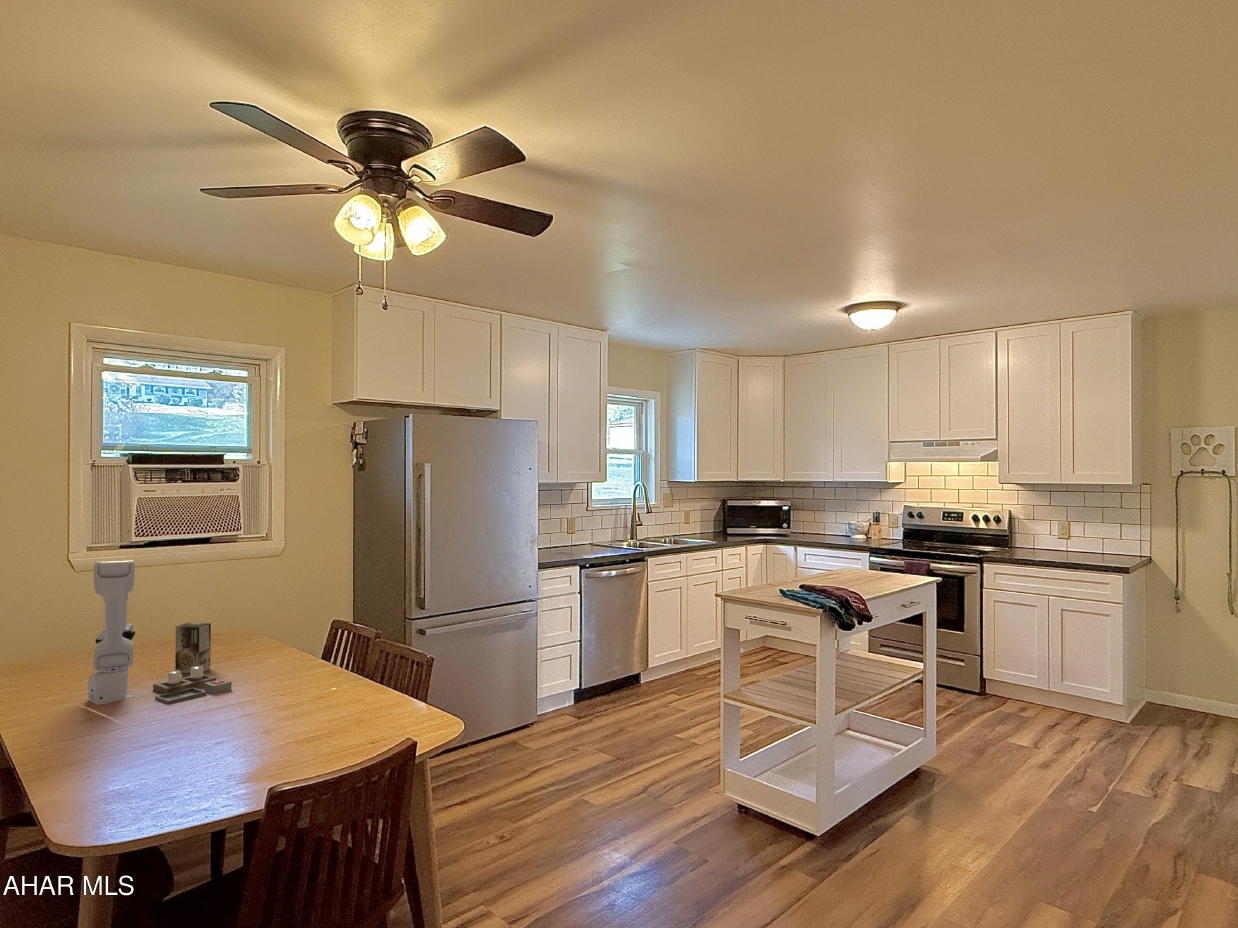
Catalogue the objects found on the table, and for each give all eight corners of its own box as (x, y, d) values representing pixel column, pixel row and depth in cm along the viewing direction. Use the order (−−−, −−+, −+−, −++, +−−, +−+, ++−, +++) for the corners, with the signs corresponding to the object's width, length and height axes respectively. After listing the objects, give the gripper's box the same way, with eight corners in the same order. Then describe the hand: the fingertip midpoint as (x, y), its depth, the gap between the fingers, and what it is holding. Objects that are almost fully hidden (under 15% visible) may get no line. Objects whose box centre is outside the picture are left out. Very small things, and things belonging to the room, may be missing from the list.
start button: (215, 691, 227) (216, 683, 227) (211, 689, 229) (212, 682, 229) (223, 689, 229) (223, 681, 229) (219, 687, 231) (219, 680, 231)
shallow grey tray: (168, 705, 215) (168, 700, 215) (155, 700, 220) (155, 695, 220) (206, 696, 224) (206, 691, 224) (193, 692, 229) (193, 687, 229)
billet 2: (193, 688, 233) (194, 669, 233) (188, 686, 235) (188, 667, 235) (205, 685, 236) (205, 667, 236) (199, 683, 238) (199, 665, 238)
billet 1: (169, 693, 227) (170, 674, 227) (165, 691, 229) (166, 672, 229) (182, 691, 229) (183, 672, 229) (178, 689, 232) (178, 670, 232)
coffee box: (211, 668, 256) (212, 622, 257) (198, 673, 250) (199, 626, 250) (186, 668, 257) (187, 622, 258) (174, 672, 251) (174, 625, 251)
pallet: (166, 696, 224) (167, 688, 224) (153, 691, 229) (153, 683, 229) (216, 685, 236) (216, 677, 236) (202, 680, 241) (202, 673, 241)
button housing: (213, 695, 225) (213, 685, 225) (203, 692, 228) (204, 682, 228) (231, 691, 230) (231, 681, 230) (222, 688, 233) (222, 678, 233)
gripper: (114, 619, 227) (113, 663, 227) (142, 610, 241) (141, 651, 241) (91, 619, 227) (90, 663, 226) (120, 610, 241) (119, 652, 241)
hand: (115, 657), depth 234 cm, fingers open, 7 cm apart
